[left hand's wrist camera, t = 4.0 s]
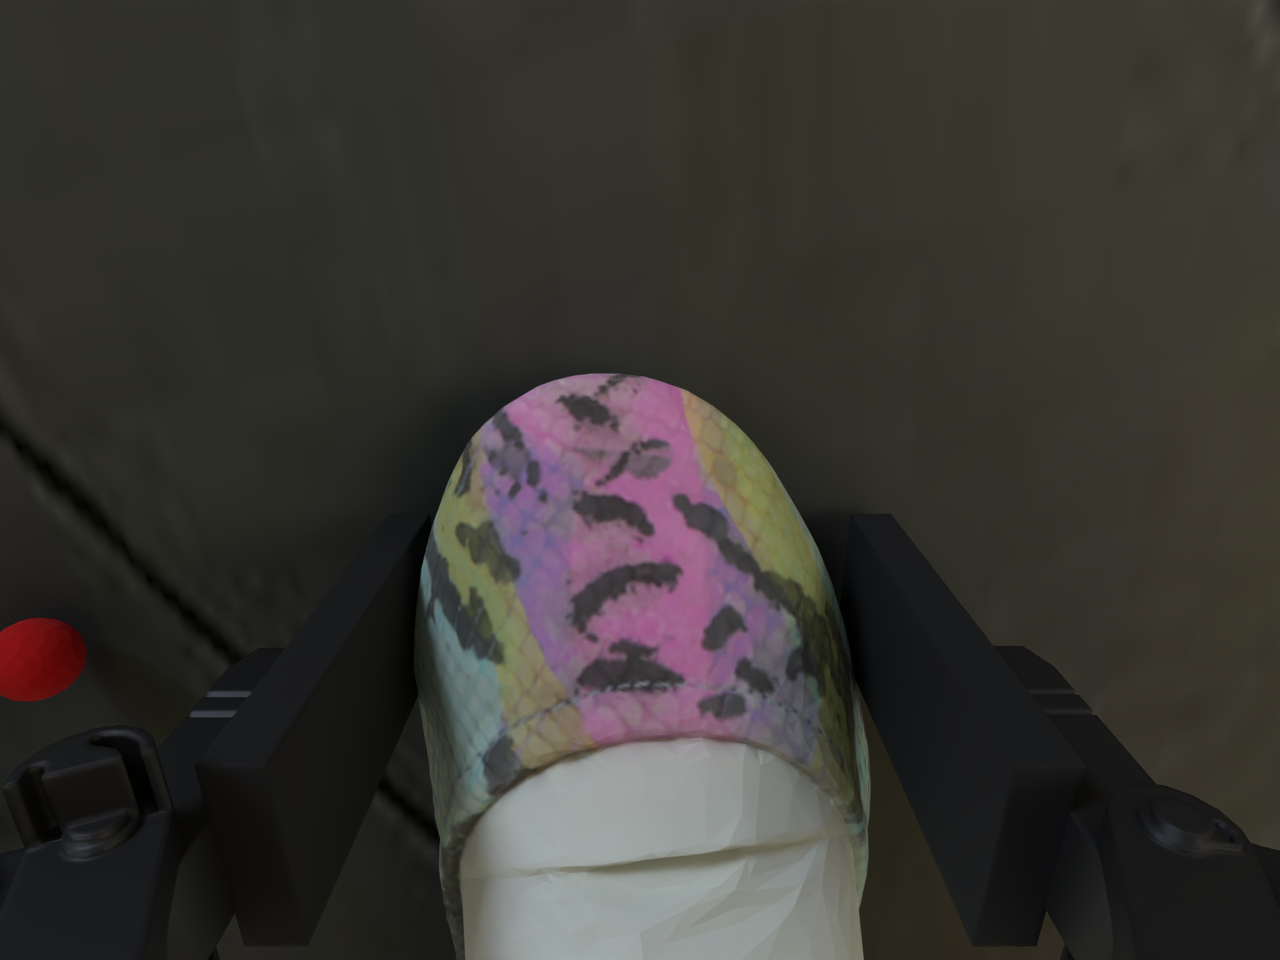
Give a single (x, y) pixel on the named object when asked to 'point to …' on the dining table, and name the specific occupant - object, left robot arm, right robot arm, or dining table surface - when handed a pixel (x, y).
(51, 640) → the molecular model
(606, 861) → the ballet flat
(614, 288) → the dining table surface
